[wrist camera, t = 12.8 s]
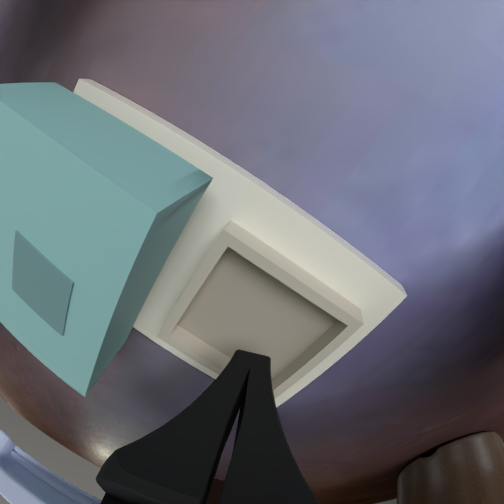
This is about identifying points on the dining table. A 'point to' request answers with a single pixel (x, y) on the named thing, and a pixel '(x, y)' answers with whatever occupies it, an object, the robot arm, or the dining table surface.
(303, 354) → the board
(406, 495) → the plant pot
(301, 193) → the dining table surface
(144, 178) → the cover
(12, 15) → the dining table surface
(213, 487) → the coffee mug
